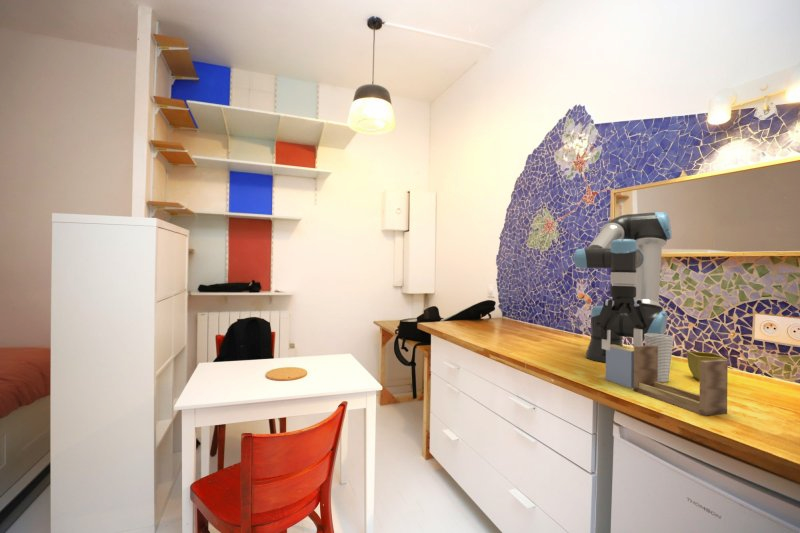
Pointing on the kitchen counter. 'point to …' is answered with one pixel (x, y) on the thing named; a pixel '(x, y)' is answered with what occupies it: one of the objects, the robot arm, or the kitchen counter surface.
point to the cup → (661, 353)
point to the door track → (704, 404)
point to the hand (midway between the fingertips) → (622, 348)
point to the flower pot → (696, 357)
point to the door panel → (620, 365)
